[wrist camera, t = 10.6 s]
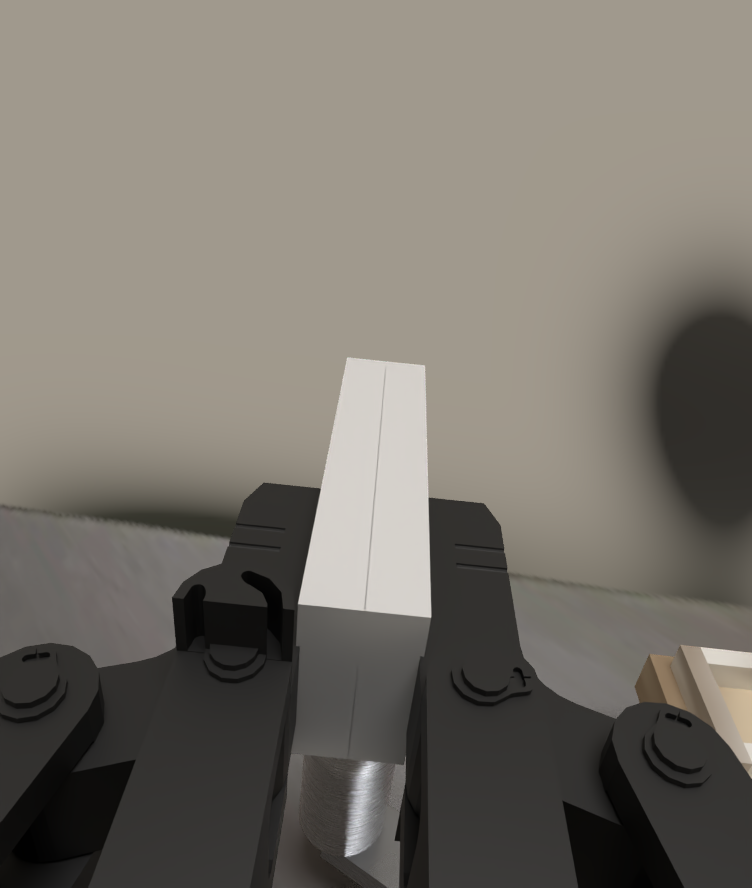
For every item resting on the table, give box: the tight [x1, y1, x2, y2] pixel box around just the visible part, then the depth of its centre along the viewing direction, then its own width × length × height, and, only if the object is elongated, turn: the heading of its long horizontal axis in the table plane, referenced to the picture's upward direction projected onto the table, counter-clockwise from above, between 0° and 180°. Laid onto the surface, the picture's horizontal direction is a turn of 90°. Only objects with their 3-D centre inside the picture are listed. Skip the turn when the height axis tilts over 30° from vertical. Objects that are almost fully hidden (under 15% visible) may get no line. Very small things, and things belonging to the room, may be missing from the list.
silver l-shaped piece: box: [299, 755, 400, 888], centre depth 19 cm, size 16×10×15 cm, turn 58°
